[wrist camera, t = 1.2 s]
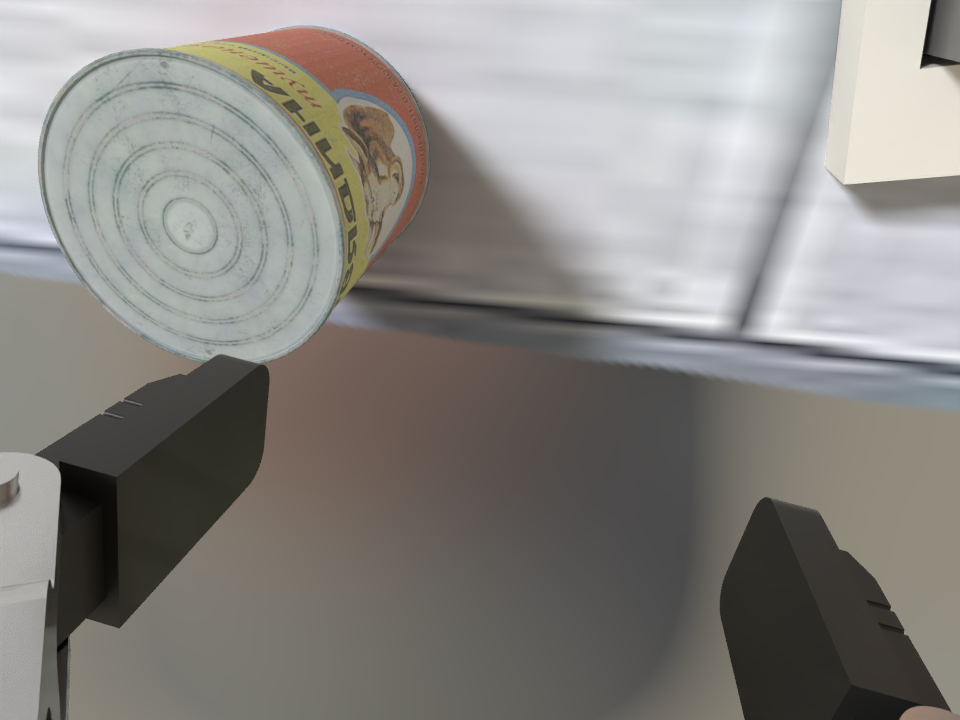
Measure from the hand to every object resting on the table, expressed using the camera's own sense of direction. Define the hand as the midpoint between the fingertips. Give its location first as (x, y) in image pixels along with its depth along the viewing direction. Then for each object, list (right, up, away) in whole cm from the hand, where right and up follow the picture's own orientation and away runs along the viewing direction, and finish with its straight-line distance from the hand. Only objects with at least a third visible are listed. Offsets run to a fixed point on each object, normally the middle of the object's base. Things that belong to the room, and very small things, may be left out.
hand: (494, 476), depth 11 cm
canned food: (-8, +13, +23) cm, 27 cm away
